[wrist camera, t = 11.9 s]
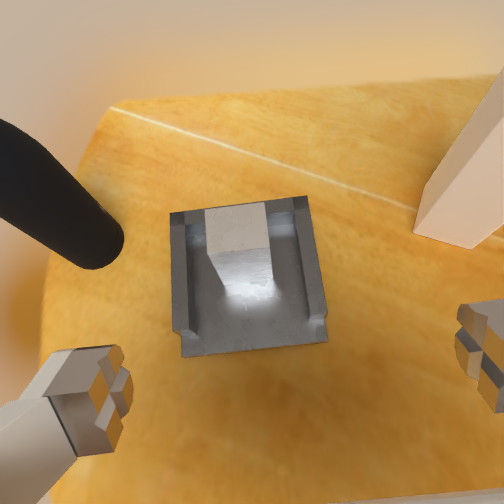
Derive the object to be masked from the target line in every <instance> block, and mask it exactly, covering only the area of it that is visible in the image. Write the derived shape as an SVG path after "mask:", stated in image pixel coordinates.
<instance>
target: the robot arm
mask: <svg viewBox="0 0 504 504" xmlns="http://www.w3.org/2000/svg"><path fill="white" fill-rule="evenodd" d="M457 320H458V321H459V322H460V324H461V325H462V326H463V327H462V328H461V329H460V330H459V331H458V332H457V333H456V335H455V351H456V356H457V359H458V361H459V364H460V366H461V368H462V369H463V370H464V372H465V373H466V375H468V376H469V377H471V378H473V379H475V380H477V381H479V382H478V391H479V393H480V394H481V395H482V397H483V398H484V399H485V401H486V402H487V403H488V405H489V406H490V407H491V409H492V410H493V411H494V413H504V299H497V300H489V301H482V302H474V303H466V304H461V305H460V307H459V309H458V314H457ZM123 360H124V355H123V353H122V350H121V348H120V347H119V346H118V345H116V344H114V345H104V346H94V347H83V348H77V349H75V348H73V349H65V350H57V351H55V352H53V353H52V354H51V355H50V356H49V358H48V359H47V360H46V362H45V363H44V365H43V366H42V367H41V369H40V370H39V371H38V373H37V374H36V376H35V377H34V378H33V380H32V381H31V382H30V384H29V385H28V387H27V388H26V389H25V391H24V392H23V393H22V395H21V396H20V397H19V399H18V400H14V401H10V402H9V403H7V404H5V405H4V406H2V407H1V408H0V504H36V503H37V502H38V501H39V500H40V499H41V498H42V497H43V496H44V495H45V494H46V493H47V492H48V490H49V489H50V488H51V487H52V486H53V485H54V484H55V483H56V482H57V481H58V480H59V479H60V477H61V476H62V475H63V474H64V473H65V472H66V471H67V470H68V469H69V468H70V467H71V466H72V465H73V463H74V462H75V461H76V460H77V457H82V456H90V455H97V454H105V453H113V452H114V451H115V448H116V446H117V443H118V440H119V438H120V435H121V432H122V430H123V425H122V422H121V420H120V419H121V418H123V417H124V416H125V415H126V414H127V413H128V412H129V410H130V407H131V404H132V401H133V390H134V389H133V382H132V378H131V375H130V372H129V371H128V370H126V369H125V368H124V367H122V366H121V365H122V362H123ZM326 504H504V487H501V488H490V489H479V490H468V491H457V492H446V493H435V494H424V495H413V496H402V497H391V498H381V499H370V500H359V501H348V502H337V503H326Z"/></svg>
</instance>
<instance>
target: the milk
mask: <svg viewBox="0 0 504 504" xmlns="http://www.w3.org/2000/svg"><path fill="white" fill-rule="evenodd" d="M503 224H504V68H503V69H502V71H501V72H500V74H499V75H498V77H497V78H496V80H495V81H494V83H493V84H492V86H491V87H490V89H489V90H488V92H487V93H486V95H485V96H484V98H483V99H482V101H481V102H480V104H479V105H478V107H477V108H476V110H475V111H474V113H473V114H472V116H471V117H470V119H469V120H468V122H467V123H466V125H465V126H464V128H463V129H462V131H461V132H460V134H459V135H458V137H457V138H456V140H455V141H454V143H453V144H452V146H451V147H450V149H449V150H448V152H447V153H446V155H445V156H444V158H443V159H442V161H441V162H440V164H439V165H438V167H437V168H436V170H435V171H434V173H433V174H432V176H431V177H430V179H429V180H428V182H427V183H426V185H425V187H424V190H423V194H422V198H421V202H420V205H419V209H418V213H417V217H416V221H415V225H414V229H413V233H414V234H417V235H421V236H424V237H428V238H431V239H435V240H438V241H441V242H445V243H448V244H452V245H455V246H459V247H462V248H466V249H469V250H471V249H473V248H474V247H475V246H477V245H478V244H479V243H480V242H482V241H483V240H484V239H486V238H487V237H488V236H489V235H491V234H492V233H493V232H494V231H496V230H497V229H498V228H499V227H501V226H502V225H503Z"/></svg>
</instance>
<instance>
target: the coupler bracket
mask: <svg viewBox="0 0 504 504" xmlns="http://www.w3.org/2000/svg"><path fill="white" fill-rule="evenodd" d="M260 202H264V204H265V212H266V220H267V228H268V236H269V244H270V254H271V263H272V273H273V279H271V280H263V281H255V282H246V283H238V284H230V285H224V284H223V282H222V280H221V278H220V277H219V275H218V273H217V271H216V269H215V267H214V266H213V264H212V262H211V260H210V258H209V256H208V255H207V241H206V225H205V209H213V208H221V207H229V206H237V205H245V204H252V203H260ZM260 202H252V203H244V204H237V205H229V206H221V207H213V208H205V209H198V210H190V211H182V212H174V213H170V243H171V284H172V326H173V332H175V333H176V334H178V335H180V336H181V349H182V358H191V357H200V356H209V355H218V354H227V353H235V352H244V351H253V350H262V349H271V348H280V347H289V346H298V345H306V344H315V343H324V342H327V341H328V338H327V332H326V327H325V321H324V319H325V317H326V316H327V314H328V313H327V307H326V301H325V296H324V290H323V284H322V278H321V273H320V267H319V261H318V255H317V250H316V244H315V238H314V232H313V227H312V221H311V215H310V209H309V204H308V198H307V196H299V197H291V198H283V199H276V200H268V201H260Z"/></svg>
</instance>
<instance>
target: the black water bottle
mask: <svg viewBox="0 0 504 504" xmlns="http://www.w3.org/2000/svg"><path fill="white" fill-rule="evenodd" d="M0 217H1V218H2V219H4V220H5V221H7V222H8V223H10V224H12V225H13V226H15V227H17V228H18V229H20V230H21V231H23V232H24V233H26V234H28V235H29V236H31V237H32V238H34V239H36V240H37V241H39V242H40V243H42V244H43V245H45V246H47V247H48V248H50V249H51V250H53V251H55V252H56V253H58V254H59V255H61V256H63V257H64V258H66V259H67V260H69V261H71V262H72V263H74V264H75V265H77V266H79V267H81V268H84V269H92V270H94V269H98V268H103V267H104V266H106V265H108V264H110V263H111V262H112V261H113V260H114V259H115V258H116V257H117V256H118V255H119V253H120V251H121V250H122V247H123V243H124V234H123V231H122V229H121V227H120V225H119V224H118V223H117V222H116V221H115V220H114V219H113V218H112V217H111V216H110V215H109V213H108V212H107V211H106V210H105V209H104V208H103V207H102V206H101V205H100V204H99V203H98V202H97V201H96V200H95V199H94V198H93V197H92V196H91V195H90V194H89V193H88V192H87V191H86V190H85V189H84V188H83V187H82V186H81V184H80V183H79V182H78V181H77V180H76V179H75V178H74V177H73V176H72V175H71V174H70V173H69V172H68V171H67V170H66V169H65V168H64V167H63V166H62V165H61V164H60V163H59V162H58V161H57V160H56V159H55V158H54V157H53V155H52V154H51V153H50V152H49V151H48V150H47V149H46V148H45V147H43V146H42V145H41V144H40V143H39V142H38V141H36V140H35V139H33V138H32V137H30V136H29V135H28V134H26V133H25V132H23V131H22V130H20V129H19V128H17V127H15V126H14V125H12V124H10V123H8V122H6V121H4V120H2V119H0Z"/></svg>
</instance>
